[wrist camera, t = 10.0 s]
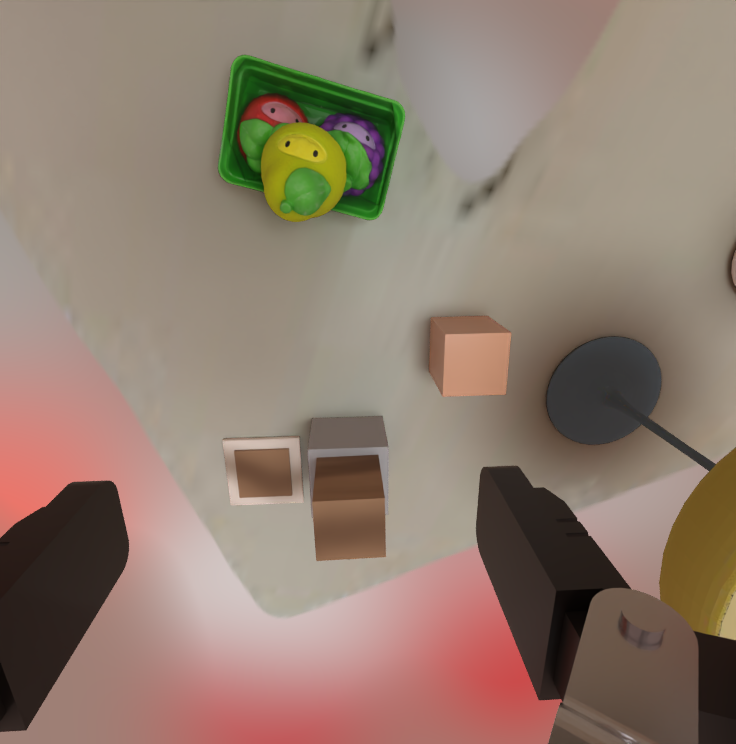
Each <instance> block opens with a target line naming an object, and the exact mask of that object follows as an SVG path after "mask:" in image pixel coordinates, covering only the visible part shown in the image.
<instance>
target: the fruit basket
mask: <svg viewBox="0 0 736 744" xmlns="http://www.w3.org/2000/svg"><path fill="white" fill-rule="evenodd" d="M404 121H405V111H404V109H403V107H402V105H401V104H400V103H399V102H397V101H395V100H392V99H388V98H385V97H381V96H378V95H375V94H371V93H368V92H365V91H361V90H357V89H354V88H351V87H348V86H345V85H341V84H338V83H335V82H332V81H329V80H325V79H322V78H319V77H317V76H313V75H310V74H306V73H303V72H300V71H296V70H293V69H290V68H287V67H283V66H280V65H278V64H274V63H271V62H268V61H264V60H262V59H258V58H255V57H253V56H249V55H241V56H239V57H237V58H236V59H235V60H234V62H233V63H232V66H231V72H230V81H229V89H228V97H227V105H226V114H225V120H224V128H223V135H222V141H221V148H220V154H219V161H218V171H219V174H220V176H221V177H222V178H223V180H225V181H226V182H228V183H231V184H234V185H238V186H242V187H246V188H250V189H254V190H258V191H261V192H264V194H265V198H266V201H267V203H268V204H269V206H270V208H271V209H272V210H273V211H274V212H275V213H276V214H277V215H278V216H279V217H281V218H283V219H285V220H287V221H292V222H301V221H305V220H308V219H310V218H314V217H318V216H321V215H324V214H325V213H327V212H329V211H330V210H332V211H336V212H340V213H344V214H347V215H351V216H355V217H358V218H362V219H366V220H374V219H376V218H377V217H379V216H380V214H381V213H382V211H383V207H384V203H385V198H386V194H387V190H388V186H389V182H390V178H391V174H392V169H393V166H394V161H395V157H396V153H397V149H398V145H399V141H400V138H401V133H402V129H403V125H404Z"/></svg>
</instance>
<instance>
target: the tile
mask: <svg viewBox="0 0 736 744" xmlns="http://www.w3.org/2000/svg"><path fill="white" fill-rule="evenodd" d="M223 448H224V456H225V464H226V471H227V479H228V487H229V494H230V502H231V505H252V504H277V503H301V502H304V495H303V480H302V465H301V450H300V436H288V437H259V438H230V439H223Z"/></svg>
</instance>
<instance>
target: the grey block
mask: <svg viewBox="0 0 736 744" xmlns="http://www.w3.org/2000/svg"><path fill="white" fill-rule="evenodd" d="M361 455H379V462H380V469H381V475H382V482H383V489H384V495H385V515H388V442H387V437H386V432H385V427H384V422H383V417H382V416H368V417H337V418H312V423H311V430H310V437H309V444H308V464H309V480H310V496H311V512H312V518H313V508H312V498H313V488H314V479H315V469H316V459H317V458H319V457H340V456H361Z"/></svg>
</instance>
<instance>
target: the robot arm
mask: <svg viewBox="0 0 736 744" xmlns="http://www.w3.org/2000/svg"><path fill="white" fill-rule="evenodd" d="M476 535H477V543H478V548H479V552H480V555H481V558H482V560H483V562H484V565H485V568H486V570H487V572H488V575H489V577H490V580H491V582H492V585H493V587H494V590H495V592H496V595H497V597H498V600H499V602H500V605H501V607H502V610H503V612H504V615H505V617H506V620H507V622H508V625H509V627H510V630H511V632H512V634H513V637H514V640H515V642H516V645H517V647H518V649H519V652H520V654H521V657H522V659H523V662H524V664H525V667H526V669H527V672H528V674H529V677H530V679H531V682H532V684H533V687H534V689H535V691H536V694H537V697H538V699H539V700H552V699H561V700H562V702H563V703H560V706H559V708H558V711H557V714H556V718H555V722H554V725H553V728H552V732H551V736H550V739H549V743H548V744H736V640H733V639H728V638H723V637H719V636H714V635H709V634H705V633H701V632H697V631H693V630H692V628H691V626H690V625H689V624H688V623H687V621H686V620H685V619H684V618H683V617H682V616H681V615H680V614H679V613H678V612H676V611H675V610H674V609H673V608H672V607H670V606H669V605H667V604H666V603H664V602H662V601H661V600H658V599H657V598H655V597H653V596H651V595H648V594H646V593H643V592H640V591H637V590H632V589H631V588H630V587H629V585H628V584H627V583H626V582H625V580H624V579H623V578H622V576H621V575H620V574H619V572H618V571H617V570H616V568H615V567H614V566H613V564H612V563H611V562H610V561H609V559H608V558H607V557H606V556H605V554H604V553H603V551H602V550H601V549H600V548H599V546H598V545H597V544H596V542H595V541H594V540H593V538H592V537H591V536H588V532H587V530H586V529H585V528H584V527H583V525H582V524H581V523H580V522H578V521H577V517H576V516H575V515H574V514H573V512H572V511H571V510H570V508H569V507H568V506H567V504H566V503H565V502H564V501H563V500H561V499H560V498H559V497H557V496H556V495H554V494H553V493H551V492H550V491H548V490H547V489H545V488H533V486H532V485H531V484H530V482H529V481H528V479H527V478H526V476H525V475H524V473H523V472H522V471H521V469H520V468H519V467H518V466H497V467H483V468H482V470H481V474H480V483H479V496H478V508H477V521H476ZM128 552H129V540H128V535H127V531H126V526H125V522H124V517H123V513H122V509H121V504H120V499H119V495H118V491H117V488H116V485H115V484H114V483H113V482H112V481H86V482H72V483H70V484H68V485H67V486H66V487H65V488H64V489H63V490H62V491H61V492H60V493H59V494H58V495H57V496H56V497H55V498H54V499H53V500H52V501H51V502H50V503H49V504H48V505H47V506H46V507H42V508H40V509H39V510H37V511H35V512H34V513H32V514H30V515H29V516H27V517H26V518H24V519H22V520H21V521H19V522H17V523H16V524H15V525H13V527H11V528H10V529H9V530H8V531H7V532H6V533H5V534H4V535H3V536H2V537H1V538H0V732H5V731H21V730H27V728H28V726H29V725H30V723H31V721H32V720H33V718H34V716H35V715H36V713H37V712H38V710H39V708H40V707H41V705H42V703H43V702H44V700H45V698H46V697H47V695H48V693H49V691H50V690H51V689H52V687H53V685H54V684H55V682H56V680H57V679H58V677H59V675H60V674H61V672H62V670H63V669H64V667H65V665H66V664H67V662H68V661H69V659H70V657H71V656H72V654H73V652H74V651H75V649H76V647H77V646H78V644H79V643H80V641H81V639H82V638H83V636H84V634H85V633H86V631H87V629H88V628H89V626H90V625H91V623H92V621H93V619H94V618H95V616H96V615H97V613H98V611H99V610H100V608H101V606H102V605H103V603H104V602H105V600H106V598H107V597H108V595H109V593H110V592H111V590H112V588H113V587H114V585H115V583H116V582H117V580H118V578H119V577H120V575H121V574H122V572H123V570H124V568H125V565H126V562H127V559H128Z"/></svg>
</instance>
